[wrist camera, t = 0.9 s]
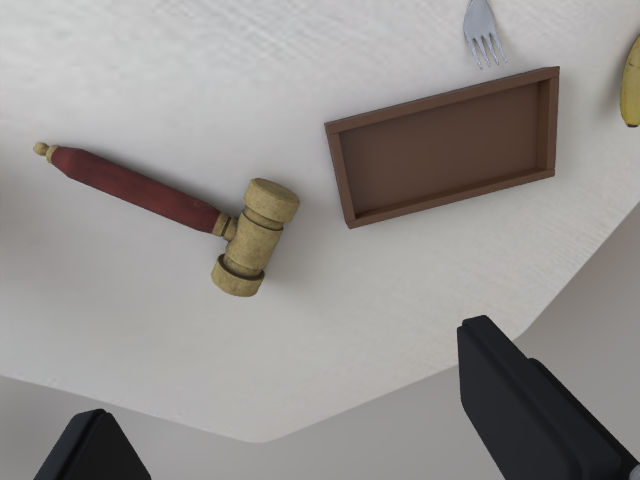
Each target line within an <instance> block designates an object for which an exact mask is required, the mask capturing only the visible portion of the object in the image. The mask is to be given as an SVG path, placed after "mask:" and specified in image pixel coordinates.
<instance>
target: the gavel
mask: <svg viewBox="0 0 640 480" xmlns="http://www.w3.org/2000/svg"><path fill="white" fill-rule="evenodd" d="M33 149H34V151H35V152H36V153H37V154H38V155H41V156H46V160H47V161H48V162H49V163H51V164H53V165H54V166H55V167H57V168H58V169H59V170H60V171H62V172H63V173H64V174H65V175H66V176H68V177H69V178H71V179H74V180H76V181H79V182H81V183H83V184H86V185H88V186H91V187H93V188H96V189H98V190H100V191H103V192H105V193H108V194H110V195H113V196H115V197H117V198H120V199H122V200H125V201H127V202H130V203H132V204H134V205H137V206H139V207H142V208H144V209H147V210H149V211H151V212H154V213H156V214H159V215H161V216H164V217H166V218H168V219H171V220H173V221H176V222H178V223H181V224H183V225H185V226H188V227H190V228H193V229H195V230H198V231H202V232H206V233H210V234H214V235H216V236H218V237H221V236H223V237H224V238H223V239H225V240H227V241H229V242H228V245H227V247H226V250H225V251H226V253H224V254H221V255H220V256H219V257H218V259H217V261H216V264H215V266H214V268H213V271H212V273H211V278H212V281H213V282H214V283H215V285H216V286H218V287H219V288H220V289H221V290H223V291H225V292H226V293H229V294H231V295H234V296H239V297H250V296H253V295H255V294H256V293H257V291H258V289H259V287H260V285H261V282H262V280H263V278H264V276H265V273H264V271H263V268H264V267H265V266H266V264H267V262H268V260H269V258H270V256H271V254H272V252H273V250H274V247H275V245H276V243H277V241H278V239H279V237H280V235H281V233H282V231H283V224H284V222H290V221H291V220H292V218H293V216H294V214H295V212H296V210H297V208H298V206H299V203H300V201H299V199H298V198H297V196H296V195H295V194H293V193H292V192H291V191H289V190H287V189H286V188H284V187H282V186H280V185H278V184H276V183H273V182H271V181H268V180H265V179H260V178H256V179H252V180H251V181H250V184H249V186H248V188H247V191H246V193H245V195H244V198H243V201H244V203H245V204H246V207H245V209H243V210H242V212H241V214H240V217H239V219H238V218H236V217H233V218H231V217H229V216H230V215H228V214H225V213H223V212H221V211H220V210H218V209H216V208H215V207H213V206H212V205H210V204H208V203H206V202H203V201H201V200H199V199H197V198H194V197H192V196H190V195H187V194H185V193H183V192H180V191H178V190H176V189H173V188H171V187H169V186H166V185H164V184H162V183H159V182H157V181H155V180H152V179H150V178H148V177H145V176H143V175H141V174H138V173H136V172H134V171H132V170H129V169H127V168H125V167H122V166H120V165H118V164H115V163H113V162H111V161H108V160H106V159H104V158H101V157H99V156H97V155H94V154H92V153H90V152H87V151H85V150H83V149H76V148H67V147H61V146H58V145H53V146H51V147H49V146H48V145H46V144H45V143H36V144H35V145H34V148H33Z"/></svg>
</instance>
